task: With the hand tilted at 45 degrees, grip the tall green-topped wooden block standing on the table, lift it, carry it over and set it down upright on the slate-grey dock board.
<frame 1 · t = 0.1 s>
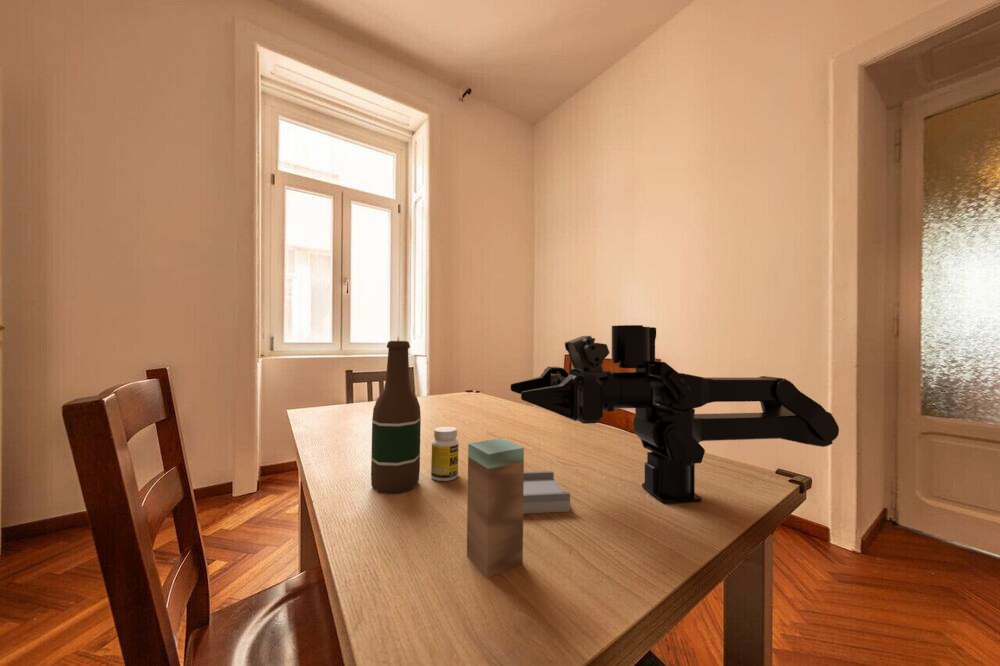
hand: (515, 391, 55), 17 cm above the table, tool horizontal, fingers open, 9 cm apart
beer bottle: (395, 486, 60), on the table
green-topped wooden block: (494, 559, 40), on the table
dock: (522, 499, 55), on the table
supplement bottle: (444, 477, 64), on the table
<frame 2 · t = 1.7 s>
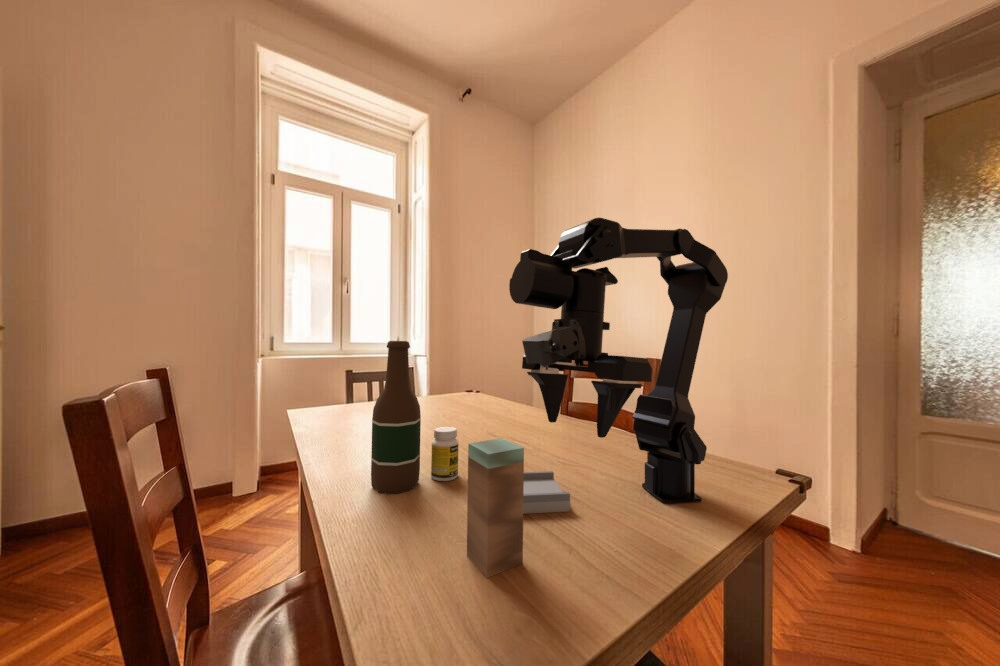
hand: (575, 429, 48), 12 cm above the table, tool pointing down, fingers open, 9 cm apart
nothing on the table moved.
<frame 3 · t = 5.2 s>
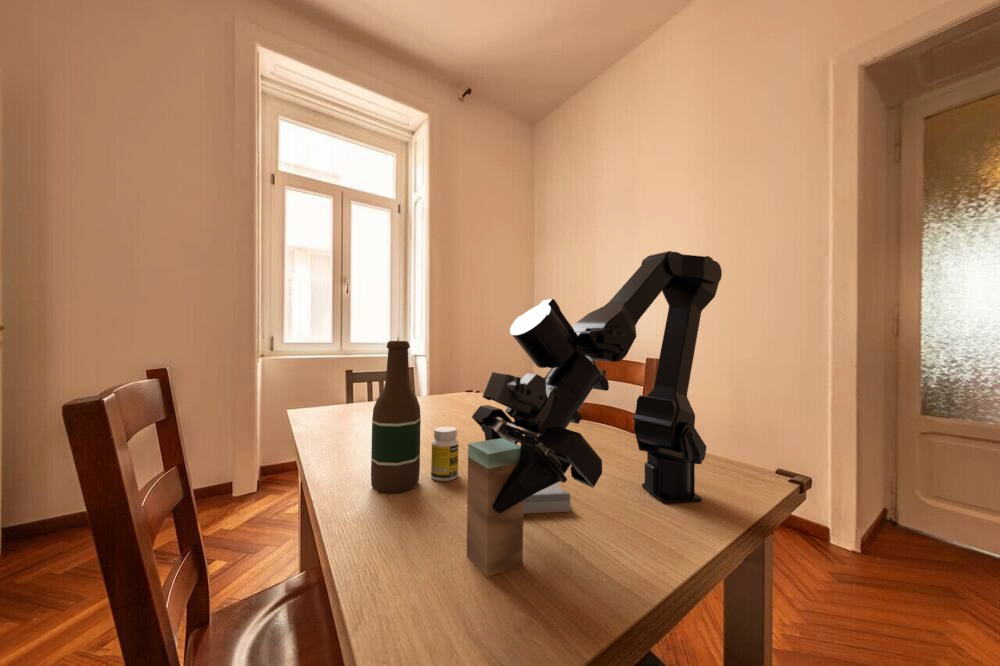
hand: (484, 501, 39), 7 cm above the table, tool tilted 45°, fingers closed on green-topped wooden block, 4 cm apart
green-topped wooden block: (494, 559, 40), on the table, touching gripper
everything else where it was.
when the fingers open (9 cm above the table, at t = 8.5 s): green-topped wooden block drops 1 cm, resting on dock.
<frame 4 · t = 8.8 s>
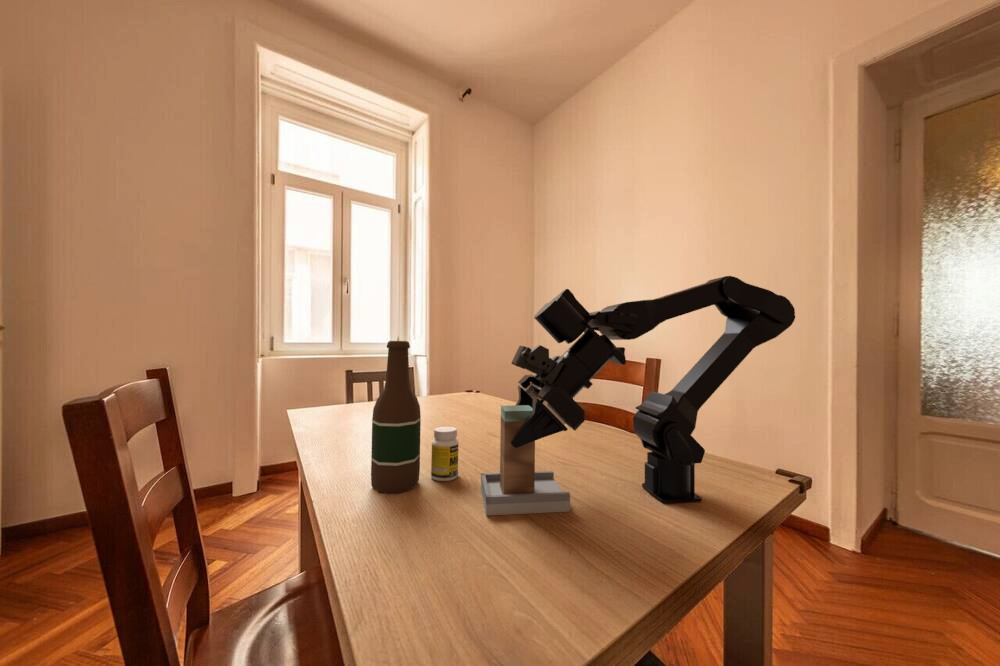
hand: (508, 437, 54), 10 cm above the table, tool tilted 45°, fingers open, 8 cm apart
green-topped wooden block: (516, 491, 54), point 1 cm above the table, touching dock
everything else where it was.
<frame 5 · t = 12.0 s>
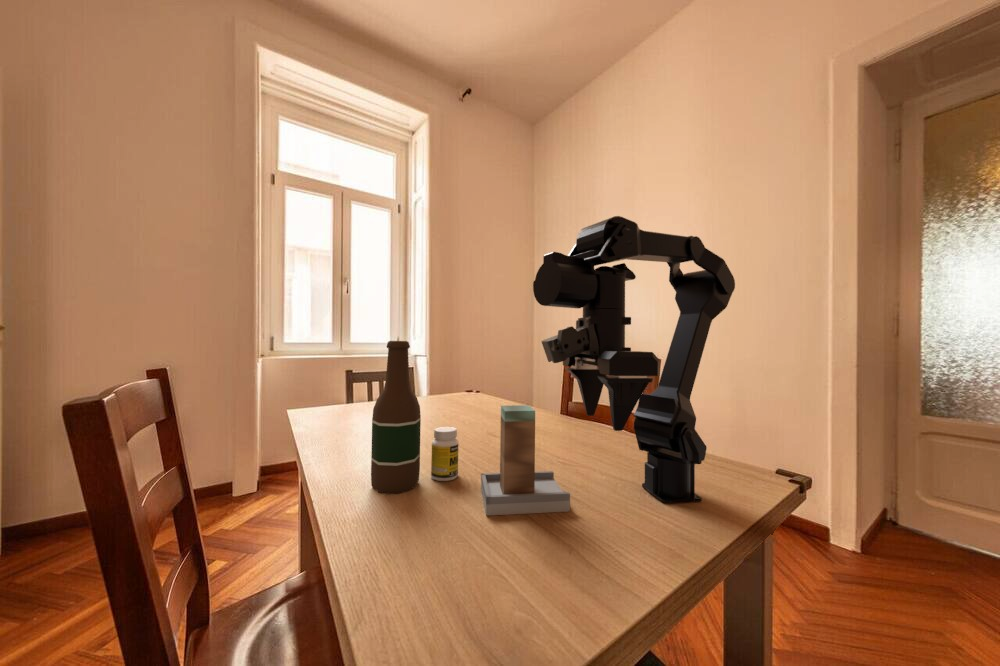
hand: (602, 422, 50), 13 cm above the table, tool pointing down, fingers open, 9 cm apart
nothing on the table moved.
at the end: green-topped wooden block inside the target area on the dock (1.1 cm from its centre), point 1.5 cm above the dock's base; green-topped wooden block tilted 0°; the gripper is holding nothing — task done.
